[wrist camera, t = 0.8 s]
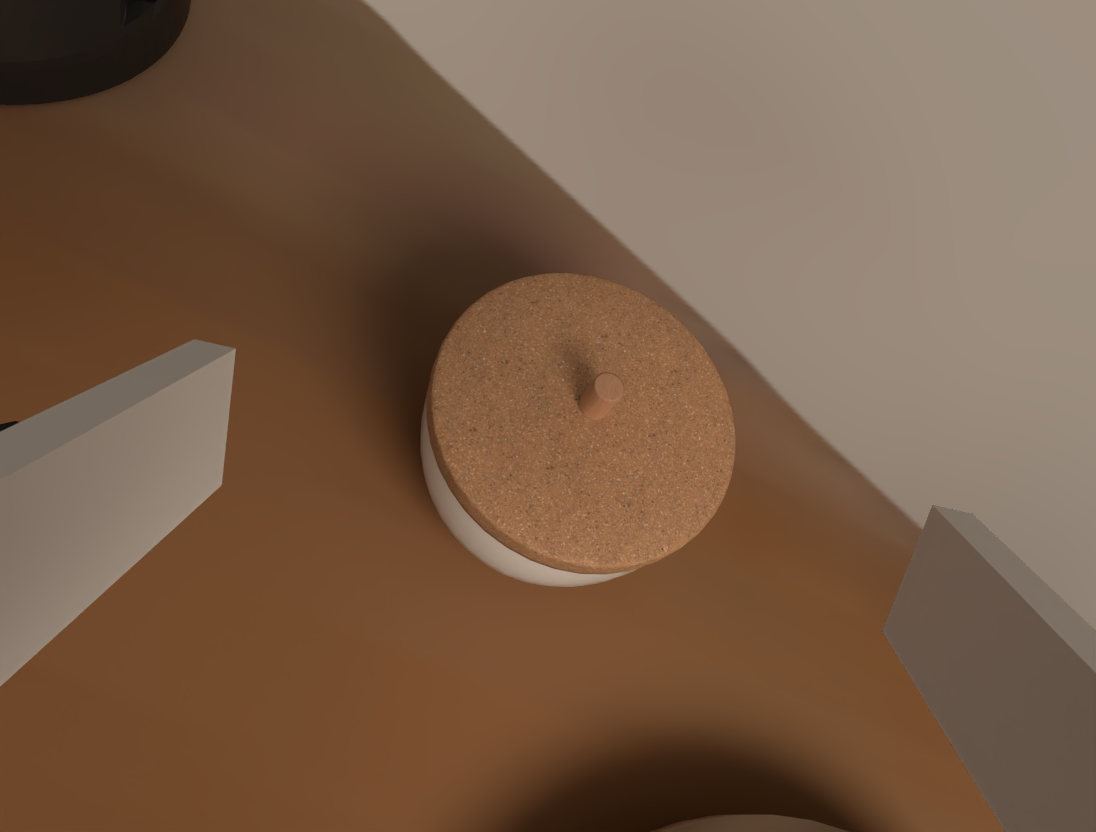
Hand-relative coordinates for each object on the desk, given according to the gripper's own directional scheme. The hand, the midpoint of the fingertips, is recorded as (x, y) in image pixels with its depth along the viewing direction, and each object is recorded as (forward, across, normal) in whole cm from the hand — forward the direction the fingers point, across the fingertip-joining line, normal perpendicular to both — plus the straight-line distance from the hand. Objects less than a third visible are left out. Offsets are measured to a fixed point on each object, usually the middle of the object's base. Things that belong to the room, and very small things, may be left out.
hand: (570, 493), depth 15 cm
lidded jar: (+18, 0, -7) cm, 19 cm away
